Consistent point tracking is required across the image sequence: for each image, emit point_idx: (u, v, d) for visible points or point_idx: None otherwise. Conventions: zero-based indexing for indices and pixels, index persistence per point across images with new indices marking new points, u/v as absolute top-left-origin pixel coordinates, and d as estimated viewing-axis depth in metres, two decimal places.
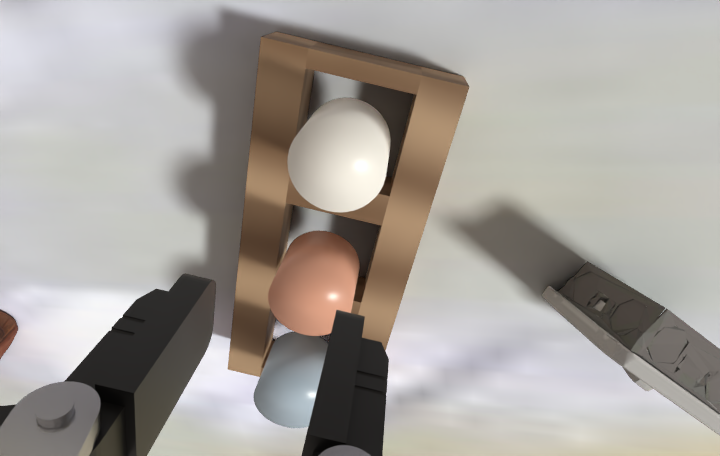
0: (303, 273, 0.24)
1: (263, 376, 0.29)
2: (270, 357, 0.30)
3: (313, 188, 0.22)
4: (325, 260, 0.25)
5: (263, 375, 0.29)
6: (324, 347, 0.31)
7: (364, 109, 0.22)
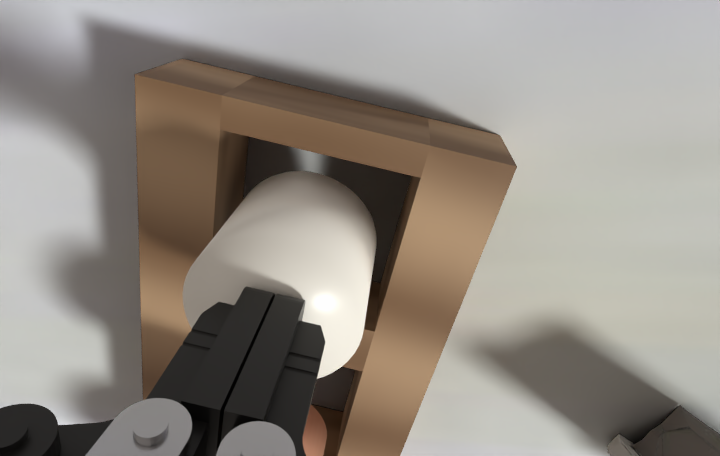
0: None
1: None
2: None
3: None
4: None
5: None
6: None
7: (328, 199, 0.13)
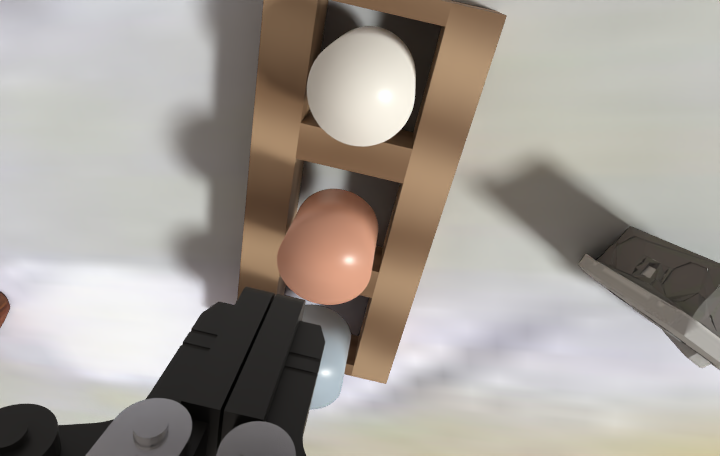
0: (317, 231, 0.21)
1: None
2: None
3: (334, 119, 0.20)
4: (342, 218, 0.22)
5: None
6: (338, 322, 0.28)
7: (389, 34, 0.21)
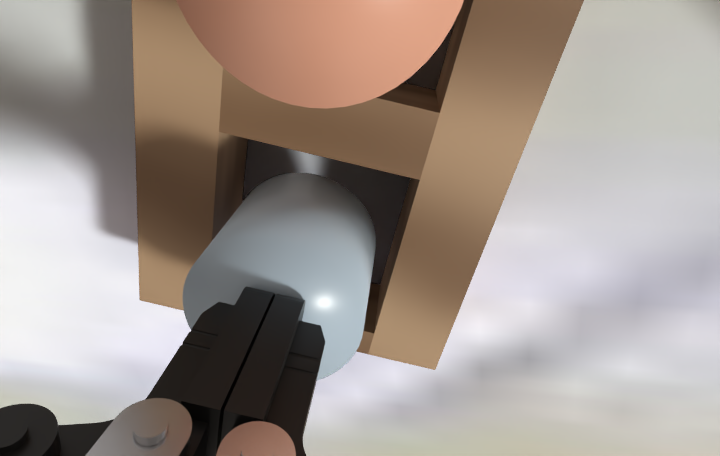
0: None
1: (205, 249, 0.11)
2: None
3: None
4: None
5: (206, 248, 0.12)
6: (353, 205, 0.14)
7: None
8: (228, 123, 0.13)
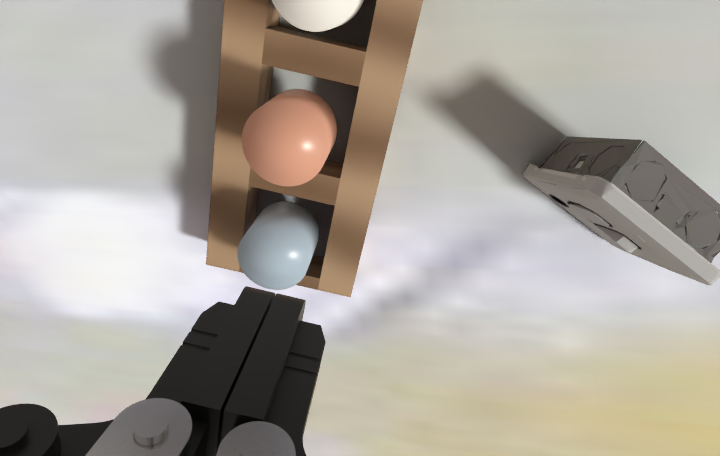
0: (277, 110, 0.24)
1: (246, 232, 0.29)
2: (254, 221, 0.31)
3: (291, 5, 0.23)
4: (300, 101, 0.24)
5: (246, 232, 0.29)
6: (307, 215, 0.32)
7: None
8: (252, 182, 0.31)
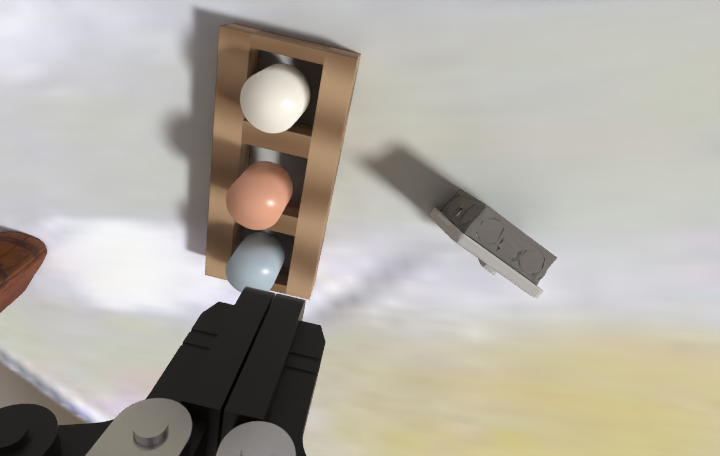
0: (248, 183, 0.37)
1: None
2: None
3: (256, 117, 0.35)
4: (263, 176, 0.37)
5: (232, 256, 0.42)
6: (276, 242, 0.45)
7: (289, 69, 0.36)
8: None
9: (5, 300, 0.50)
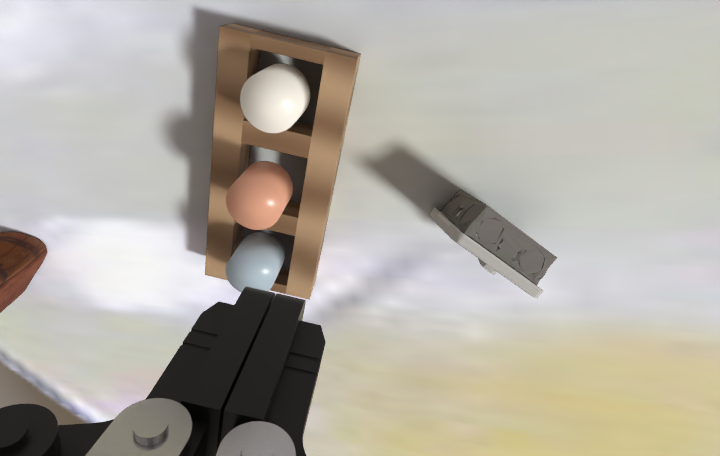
0: (248, 183, 0.37)
1: (232, 256, 0.42)
2: None
3: (256, 117, 0.35)
4: (264, 176, 0.37)
5: (232, 256, 0.42)
6: (276, 242, 0.45)
7: (289, 69, 0.36)
8: None
9: (5, 300, 0.50)
